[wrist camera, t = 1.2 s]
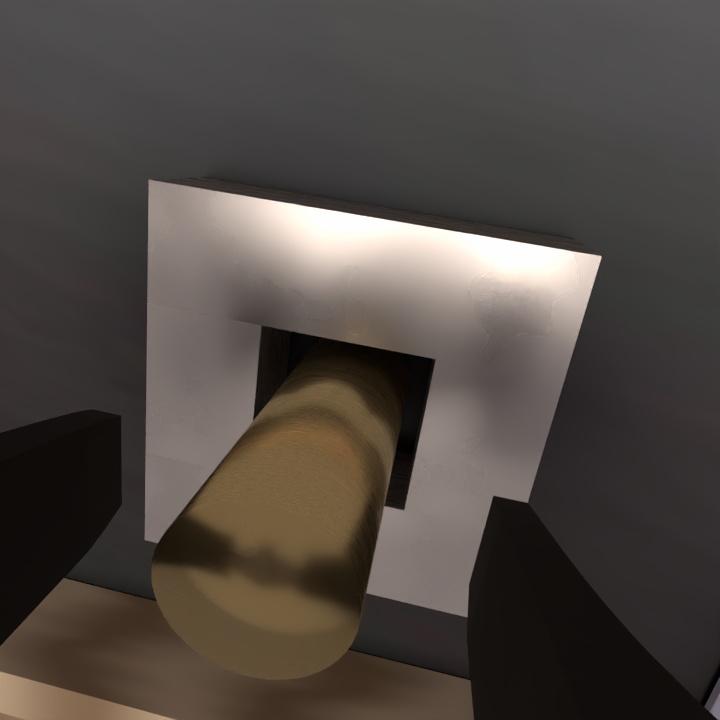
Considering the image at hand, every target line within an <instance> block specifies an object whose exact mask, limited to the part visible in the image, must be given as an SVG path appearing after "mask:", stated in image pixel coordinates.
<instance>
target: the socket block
mask: <svg viewBox="0 0 720 720" xmlns="http://www.w3.org/2000/svg"><path fill="white" fill-rule="evenodd" d="M601 257H602V256H600V255H599V254H597V253H595V252H594V251H592V250H591V249H589V248H587V247H586V246H584V245H582V244H581V243H579V242H577V241H576V240H574V239H572V238H566V237H560V236H554V235H548V234H542V233H536V232H530V231H524V230H518V229H512V228H506V227H500V226H494V225H488V224H482V223H476V222H470V221H464V220H458V219H452V218H446V217H440V216H434V215H428V214H422V213H416V212H410V211H404V210H398V209H392V208H386V207H380V206H374V205H368V204H362V203H356V202H350V201H344V200H338V199H332V198H326V197H320V196H314V195H308V194H302V193H296V192H290V191H284V190H278V189H272V188H266V187H260V186H254V185H248V184H242V183H236V182H230V181H224V180H218V179H212V178H206V177H203V178H179V179H155V180H149V204H148V295H147V385H146V476H145V540H147V541H151V542H156V543H159V540H160V539H161V537H162V536H163V534H164V533H165V532H166V530H167V529H168V528H169V526H170V525H171V524H172V523H173V521H174V520H175V519H176V518H177V516H178V515H179V514H180V513H181V511H182V510H183V509H184V508H185V506H186V505H187V504H188V503H189V501H190V500H191V499H192V497H193V496H194V495H195V494H196V492H197V491H198V490H199V489H200V487H201V486H202V485H203V484H204V482H205V481H206V480H207V479H208V477H209V476H210V475H211V474H212V472H213V471H214V470H215V469H216V467H217V466H218V465H219V463H220V462H221V461H222V460H223V458H224V457H225V456H226V455H227V453H228V452H229V451H230V450H231V448H232V447H233V446H234V445H235V443H236V442H237V441H238V440H239V438H240V437H241V436H242V435H243V433H244V432H245V431H246V430H247V428H248V427H249V426H250V424H251V423H252V422H253V421H254V419H255V418H256V417H257V416H258V414H259V413H260V412H261V411H262V409H263V408H264V407H265V406H266V404H267V403H268V402H269V401H270V399H271V398H272V397H273V396H274V394H275V393H276V392H277V390H278V389H279V388H280V387H281V385H282V384H283V383H284V382H285V380H286V379H287V371H288V361H289V352H290V343H291V334H292V332H297V333H303V334H308V335H313V336H318V337H323V338H328V339H334V340H339V341H344V342H349V343H354V344H360V345H365V346H370V347H375V348H380V349H385V350H391V351H396V352H401V353H406V354H411V355H416V356H422V357H427V358H432V363H431V367H430V372H429V377H428V382H427V387H426V392H425V397H424V401H423V406H422V411H421V416H420V421H419V426H418V430H417V435H416V440H415V445H414V450H413V454H411V453H406V452H401V451H397V450H396V452H395V457H394V462H393V467H392V472H391V476H390V481H389V486H388V491H387V496H386V500H385V505H384V510H383V515H382V520H381V524H380V529H379V534H378V539H377V544H376V548H375V553H374V558H373V563H372V568H371V573H370V577H369V582H368V587H367V592H366V593H368V594H372V595H376V596H381V597H385V598H389V599H393V600H397V601H401V602H406V603H410V604H414V605H418V606H422V607H426V608H431V609H435V610H439V611H443V612H447V613H451V614H456V615H460V616H464V617H468V595H469V583H470V579H471V575H472V572H473V568H474V564H475V561H476V557H477V553H478V550H479V546H480V542H481V539H482V535H483V531H484V528H485V524H486V521H487V517H488V513H489V510H490V506H491V502H492V499H493V496H498V497H503V498H507V499H512V500H517V501H521V502H526V503H528V499H529V496H530V493H531V489H532V486H533V483H534V480H535V476H536V473H537V470H538V466H539V463H540V460H541V456H542V453H543V450H544V446H545V443H546V440H547V436H548V433H549V430H550V426H551V423H552V420H553V416H554V413H555V410H556V406H557V403H558V400H559V396H560V393H561V390H562V387H563V383H564V380H565V377H566V373H567V370H568V367H569V363H570V360H571V357H572V353H573V350H574V347H575V343H576V340H577V337H578V333H579V330H580V327H581V323H582V320H583V317H584V313H585V310H586V307H587V304H588V300H589V297H590V294H591V290H592V287H593V284H594V280H595V277H596V274H597V270H598V267H599V264H600V260H601Z"/></svg>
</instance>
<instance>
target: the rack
mask: <svg viewBox="0 0 720 720" xmlns="http://www.w3.org/2000/svg"><path fill="white" fill-rule="evenodd" d="M0 720H474V715H473V704H472V692H471V681H470V680H467V679H463V678H459V677H455V676H451V675H447V674H443V673H439V672H435V671H431V670H427V669H423V668H419V667H415V666H411V665H407V664H403V663H399V662H396V661H392V660H388V659H384V658H380V657H376V656H372V655H368V654H364V653H360V652H356V651H352V650H347V651H346V653H345V654H344V655H343V656H342V657H341V658H340V659H339V660H337V661H336V662H335V663H333V664H332V665H331V666H329V667H327V668H326V669H324V670H322V671H320V672H317V673H315V674H312V675H309V676H305V677H301V678H297V679H288V680H268V679H259V678H254V677H249V676H245V675H242V674H238V673H235V672H232V671H230V670H227V669H225V668H223V667H220V666H219V665H217V664H215V663H213V662H211V661H209V660H208V659H206V658H205V657H203V656H201V655H200V654H198V653H197V652H196V651H195V650H193V649H192V648H191V647H190V646H188V645H187V644H186V643H185V642H184V641H183V640H182V639H181V638H180V637H179V636H178V635H177V633H176V632H175V631H174V630H173V629H172V627H171V626H170V625H169V623H168V622H167V620H166V619H165V617H164V616H163V614H162V612H161V610H160V608H159V606H158V603H157V601H153V600H149V599H145V598H141V597H137V596H133V595H129V594H125V593H121V592H117V591H113V590H109V589H105V588H101V587H97V586H93V585H89V584H85V583H81V582H77V581H73V580H70V579H66V578H63V579H62V581H61V582H60V583H59V584H58V585H57V586H56V587H55V588H54V589H53V590H52V591H51V592H50V593H49V594H48V596H47V597H46V598H45V599H44V600H43V601H42V602H41V603H40V604H39V605H38V606H37V607H36V608H35V610H34V611H33V612H32V613H31V614H30V615H29V616H28V617H27V618H26V619H25V620H24V621H23V622H22V624H21V625H20V626H19V627H18V628H17V629H16V630H15V631H14V632H13V633H12V634H11V635H10V636H9V637H8V639H7V640H6V641H5V642H4V643H3V644H2V645H1V646H0Z"/></svg>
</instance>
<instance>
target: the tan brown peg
mask: <svg viewBox="0 0 720 720" xmlns="http://www.w3.org/2000/svg"><path fill="white" fill-rule="evenodd" d="M409 382H410V381H409V370H408V366H407V363H406V360H405V358H404V356H403V354H402V353H401V352H396V351H391V350H385V349H380V348H375V347H370V346H365V345H360V344H354V343H349V342H344V341H339V340H334V339H328V338H323V337H321V338H320V339H319V340H318V341H317V342H316V343H315V344H314V345H313V346H312V348H311V349H310V350H309V351H308V353H307V354H306V355H305V357H304V358H303V359H302V360H301V362H300V363H299V364H298V365H297V367H296V368H295V369H294V370H293V372H292V373H291V374H290V375H289V377H288V378H287V379H286V380H285V382H284V383H283V384H282V385H281V387H280V388H279V389H278V390H277V392H276V393H275V394H274V396H273V397H272V398H271V399H270V401H269V402H268V403H267V404H266V406H265V407H264V408H263V409H262V411H261V412H260V413H259V414H258V416H257V417H256V418H255V419H254V421H253V422H252V423H251V424H250V426H249V427H248V428H247V430H246V431H245V432H244V433H243V435H242V436H241V437H240V438H239V440H238V441H237V442H236V443H235V445H234V446H233V447H232V448H231V450H230V451H229V452H228V453H227V455H226V456H225V457H224V458H223V460H222V461H221V462H220V463H219V465H218V466H217V467H216V469H215V470H214V471H213V472H212V474H211V475H210V476H209V477H208V479H207V480H206V481H205V482H204V484H203V485H202V486H201V487H200V489H199V490H198V491H197V492H196V494H195V495H194V496H193V497H192V499H191V500H190V501H189V503H188V504H187V505H186V506H185V508H184V509H183V510H182V511H181V513H180V514H179V515H178V516H177V518H176V519H175V520H174V521H173V523H172V524H171V525H170V526H169V528H168V529H167V530H166V532H165V533H164V534H163V536H162V537H161V539H160V540H159V543H158V545H157V547H156V549H155V552H154V556H153V560H152V569H151V575H152V585H153V590H154V595H155V597H156V600H157V603H158V606H159V608H160V610H161V612H162V614H163V616H164V617H165V619H166V620H167V622H168V623H169V625H170V626H171V627H172V629H173V630H174V631H175V632H176V633H177V635H178V636H179V637H180V638H181V639H182V640H183V641H184V642H185V643H186V644H187V645H188V646H190V647H191V648H192V649H193V650H195V651H196V652H197V653H198V654H200V655H201V656H203V657H205V658H206V659H208V660H209V661H211V662H213V663H215V664H217V665H219V666H220V667H223V668H225V669H227V670H230V671H232V672H235V673H238V674H242V675H245V676H249V677H254V678H259V679H268V680H288V679H297V678H301V677H305V676H309V675H312V674H315V673H317V672H320V671H322V670H324V669H326V668H327V667H329V666H331V665H332V664H333V663H335V662H336V661H337V660H339V659H340V658H341V657H342V656H343V655H344V654H345V653H346V651H347V650H348V649H349V647H350V646H351V644H352V643H353V641H354V639H355V637H356V635H357V632H358V628H359V625H360V621H361V616H362V611H363V606H364V601H365V597H366V592H367V587H368V582H369V577H370V573H371V568H372V563H373V558H374V553H375V548H376V544H377V539H378V534H379V529H380V524H381V520H382V515H383V510H384V505H385V500H386V496H387V491H388V486H389V481H390V476H391V472H392V467H393V462H394V457H395V452H396V447H397V443H398V438H399V433H400V428H401V423H402V419H403V414H404V409H405V404H406V399H407V395H408V390H409Z"/></svg>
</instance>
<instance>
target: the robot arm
mask: <svg viewBox="0 0 720 720" xmlns="http://www.w3.org/2000/svg"><path fill="white" fill-rule="evenodd" d="M121 504H122V490H121V416H120V415H116V414H111V413H106V412H102V411H97V410H92V409H91V410H86V411H80V412H75V413H71V414H67V415H63V416H59V417H55V418H52V419H48V420H44V421H41V422H37V423H34V424H30V425H27V426H23V427H20V428H16V429H13V430H9V431H6V432H2V433H0V646H1V645H2V644H3V643H4V642H5V641H6V640H7V639H8V637H9V636H10V635H11V634H12V633H13V632H14V631H15V630H16V629H17V628H18V627H19V626H20V625H21V624H22V622H23V621H24V620H25V619H26V618H27V617H28V616H29V615H30V614H31V613H32V612H33V611H34V610H35V608H36V607H37V606H38V605H39V604H40V603H41V602H42V601H43V600H44V599H45V598H46V597H47V596H48V594H49V593H50V592H51V591H52V590H53V589H54V588H55V587H56V586H57V585H58V584H59V583H60V582H61V581H62V579H63V578H64V577H65V576H66V575H67V574H68V573H69V572H70V571H71V570H72V568H73V567H74V566H75V565H76V564H77V563H78V562H79V561H80V560H81V559H82V557H83V556H84V555H85V554H86V553H87V552H88V551H89V550H90V548H91V547H92V546H93V545H94V543H95V542H96V540H97V539H98V538H99V536H100V535H101V534H102V532H103V531H104V530H105V528H106V527H107V525H108V524H109V522H110V521H111V519H112V518H113V516H114V515H115V513H116V512H117V510H118V509H119V507H120V506H121ZM467 643H468V656H469V668H470V681H471V692H472V704H473V715H474V720H720V677H719V679H718V681H717V683H716V685H715V687H714V689H713V691H712V693H711V695H710V697H709V699H708V701H707V702H706V704H705V706H703V705H702V704H700V703H699V702H698V701H697V700H696V699H695V698H694V697H693V696H692V695H691V694H690V693H689V692H688V691H687V690H686V689H685V688H684V687H683V686H682V685H681V684H680V683H679V682H678V681H677V680H676V679H675V678H674V677H673V676H672V675H671V674H670V673H669V672H668V671H667V670H666V669H665V668H664V667H663V666H662V665H661V664H660V663H659V662H658V661H657V660H656V659H655V658H654V657H653V656H652V655H651V654H650V653H649V652H648V651H647V650H646V649H645V648H644V647H643V646H642V645H641V644H640V643H639V642H638V641H637V640H636V638H635V637H634V636H633V635H632V634H631V633H630V632H629V631H628V630H627V628H626V627H625V626H624V625H623V624H622V623H621V622H620V620H619V619H618V618H617V617H616V616H615V615H614V614H613V612H612V611H611V610H610V609H609V608H608V607H607V606H606V604H605V603H604V602H603V601H602V600H601V598H600V597H599V596H598V595H597V594H596V592H595V591H594V590H593V589H592V588H591V586H590V585H589V584H588V583H587V581H586V580H585V579H584V578H583V576H582V575H581V574H580V572H579V571H578V570H577V569H576V567H575V566H574V565H573V563H572V562H571V561H570V559H569V558H568V557H567V555H566V554H565V553H564V552H563V550H562V549H561V547H560V546H559V545H558V543H557V542H556V541H555V539H554V538H553V537H552V535H551V534H550V533H549V531H548V530H547V528H546V527H545V526H544V524H543V523H542V522H541V520H540V519H539V517H538V516H537V515H536V513H535V512H534V511H533V509H532V508H531V507H530V505H529V504H528V503H526V502H521V501H517V500H512V499H507V498H503V497H498V496H493V499H492V502H491V506H490V510H489V513H488V517H487V521H486V524H485V528H484V531H483V535H482V539H481V542H480V546H479V550H478V553H477V557H476V561H475V564H474V568H473V572H472V575H471V579H470V583H469V595H468V623H467Z"/></svg>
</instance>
